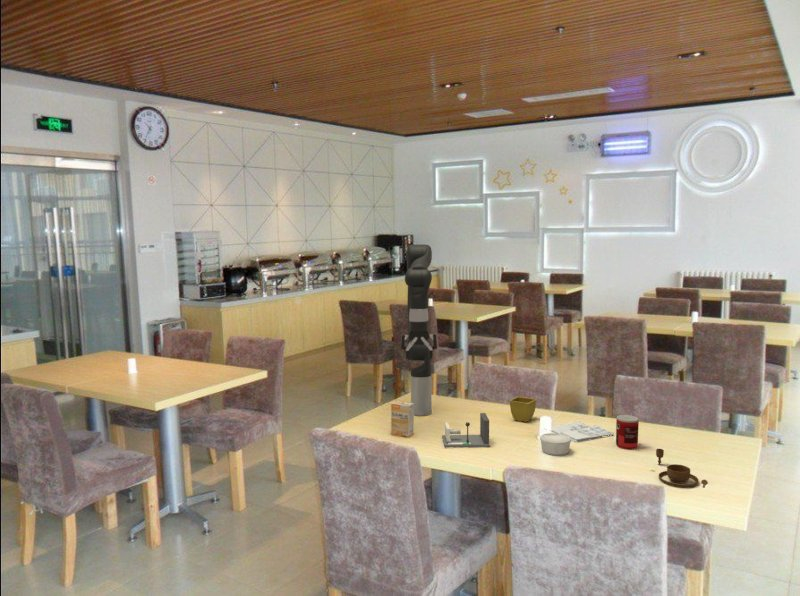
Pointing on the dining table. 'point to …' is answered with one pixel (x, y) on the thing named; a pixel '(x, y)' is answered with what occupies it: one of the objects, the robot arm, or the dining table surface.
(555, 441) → the ramekin
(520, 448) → the dining table surface
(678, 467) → the place setting
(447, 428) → the pad
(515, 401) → the flower pot
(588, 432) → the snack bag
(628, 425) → the canned food
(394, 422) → the supplement box
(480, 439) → the gauge frame
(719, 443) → the dining table surface
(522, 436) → the dining table surface
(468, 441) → the black ball-ended rod
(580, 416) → the dining table surface
